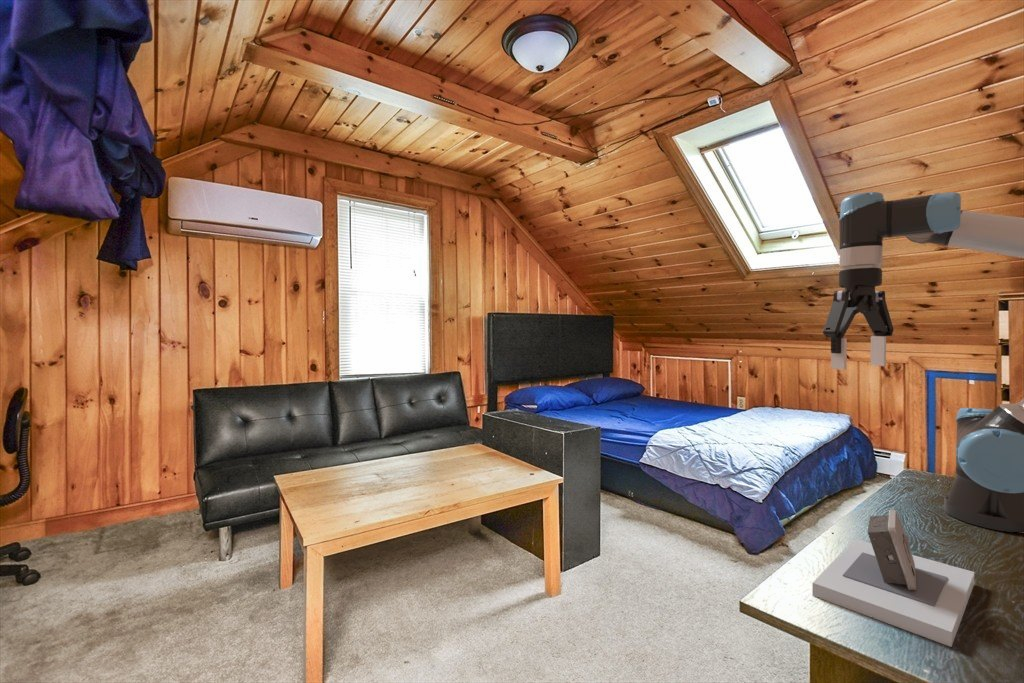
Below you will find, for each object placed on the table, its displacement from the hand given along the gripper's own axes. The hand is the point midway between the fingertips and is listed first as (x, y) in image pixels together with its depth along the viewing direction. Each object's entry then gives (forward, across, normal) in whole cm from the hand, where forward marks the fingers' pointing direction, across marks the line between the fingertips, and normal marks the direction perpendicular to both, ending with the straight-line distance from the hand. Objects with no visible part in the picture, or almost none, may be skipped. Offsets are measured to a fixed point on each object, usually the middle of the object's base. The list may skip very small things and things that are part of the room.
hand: (858, 367), depth 105 cm
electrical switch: (+30, +26, +21) cm, 45 cm away
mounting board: (+32, +26, +21) cm, 46 cm away
